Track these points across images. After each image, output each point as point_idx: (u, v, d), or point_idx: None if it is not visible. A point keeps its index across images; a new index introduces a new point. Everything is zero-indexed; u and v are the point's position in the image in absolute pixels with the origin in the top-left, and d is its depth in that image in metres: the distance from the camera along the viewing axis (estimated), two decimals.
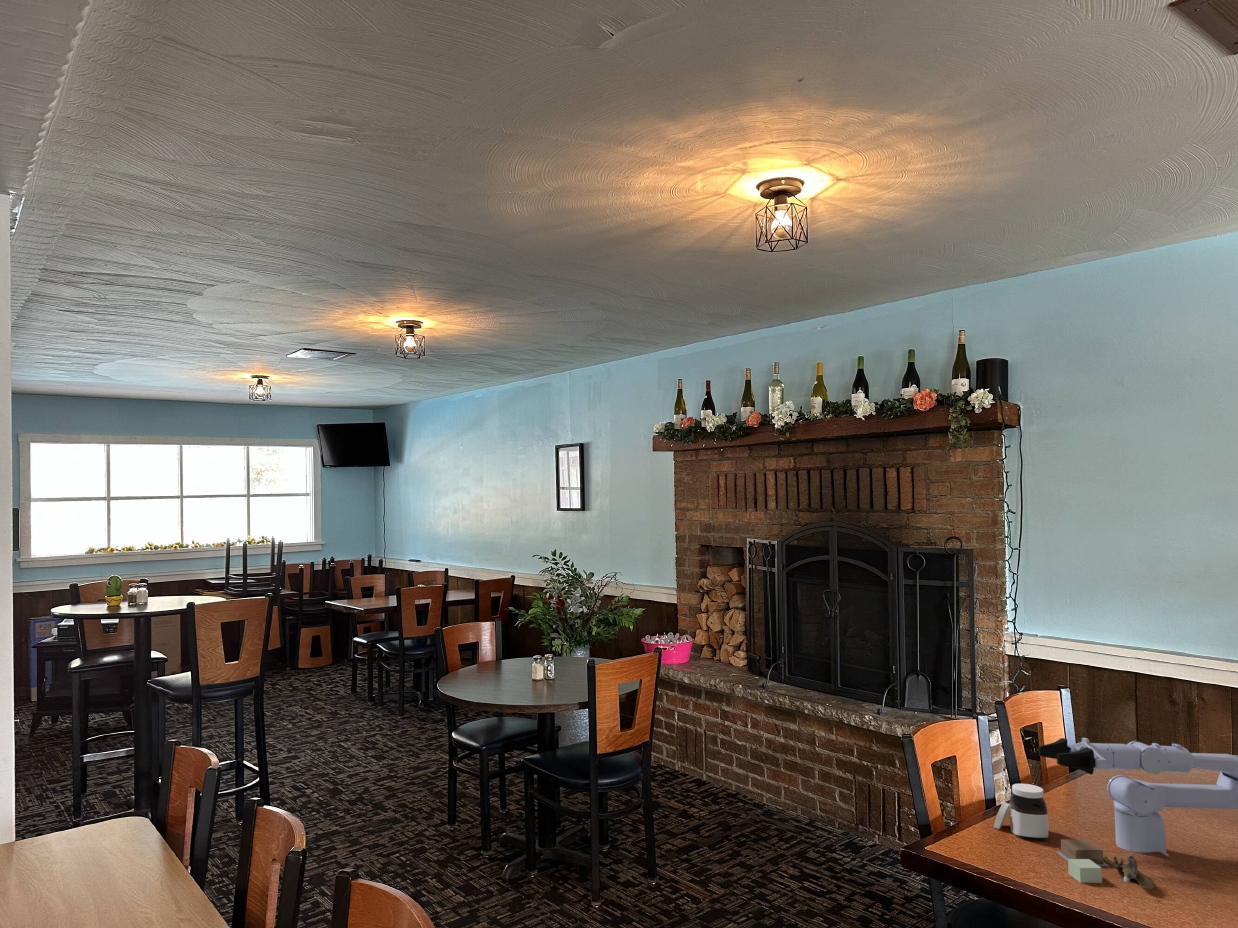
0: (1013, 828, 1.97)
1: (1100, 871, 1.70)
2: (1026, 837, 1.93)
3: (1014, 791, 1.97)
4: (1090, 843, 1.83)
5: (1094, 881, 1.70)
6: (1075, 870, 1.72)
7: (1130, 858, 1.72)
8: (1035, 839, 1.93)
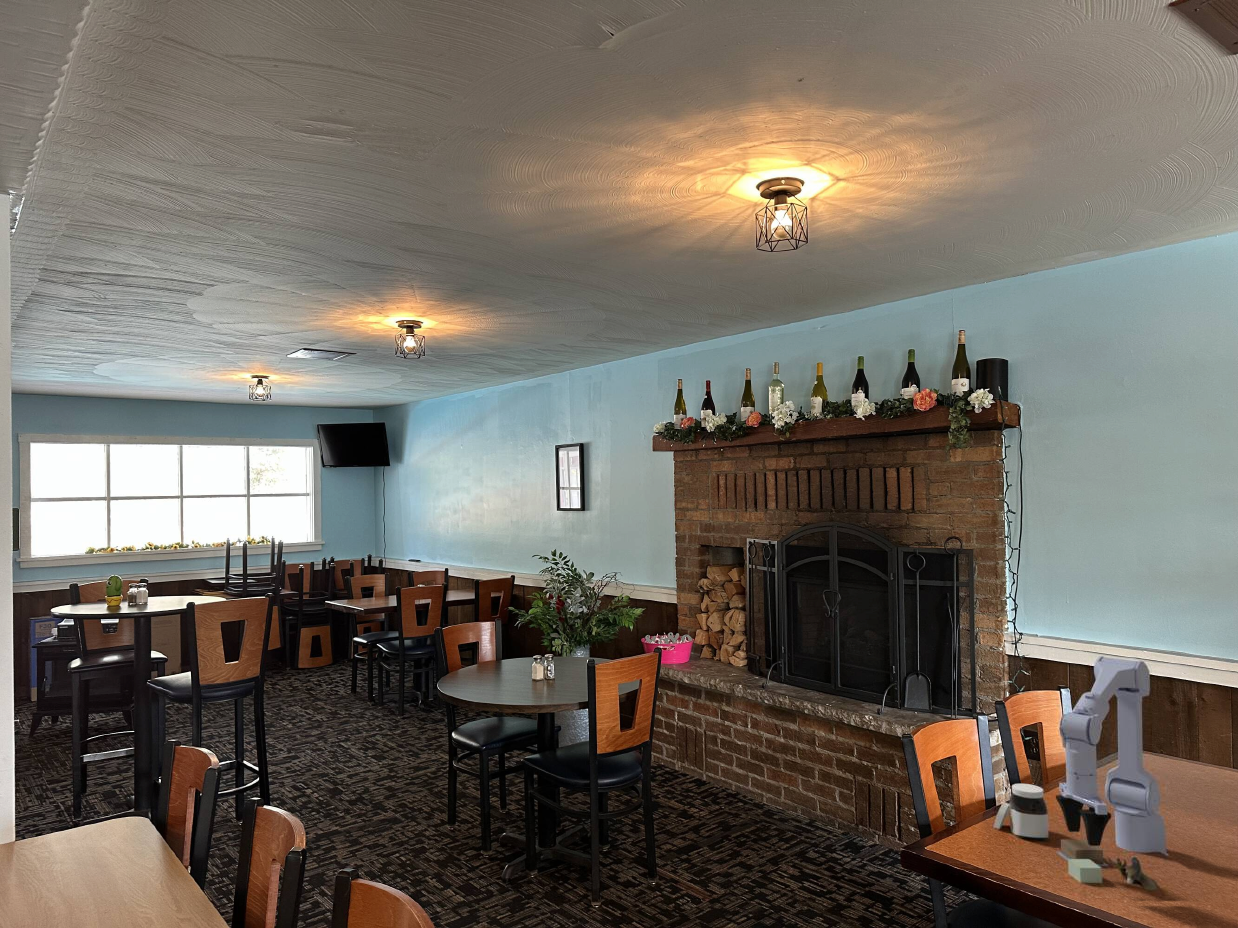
0: (1013, 828, 1.97)
1: (1100, 871, 1.70)
2: (1026, 837, 1.93)
3: (1014, 791, 1.97)
4: None
5: (1094, 881, 1.70)
6: (1075, 870, 1.72)
7: (1134, 860, 1.72)
8: (1035, 839, 1.93)
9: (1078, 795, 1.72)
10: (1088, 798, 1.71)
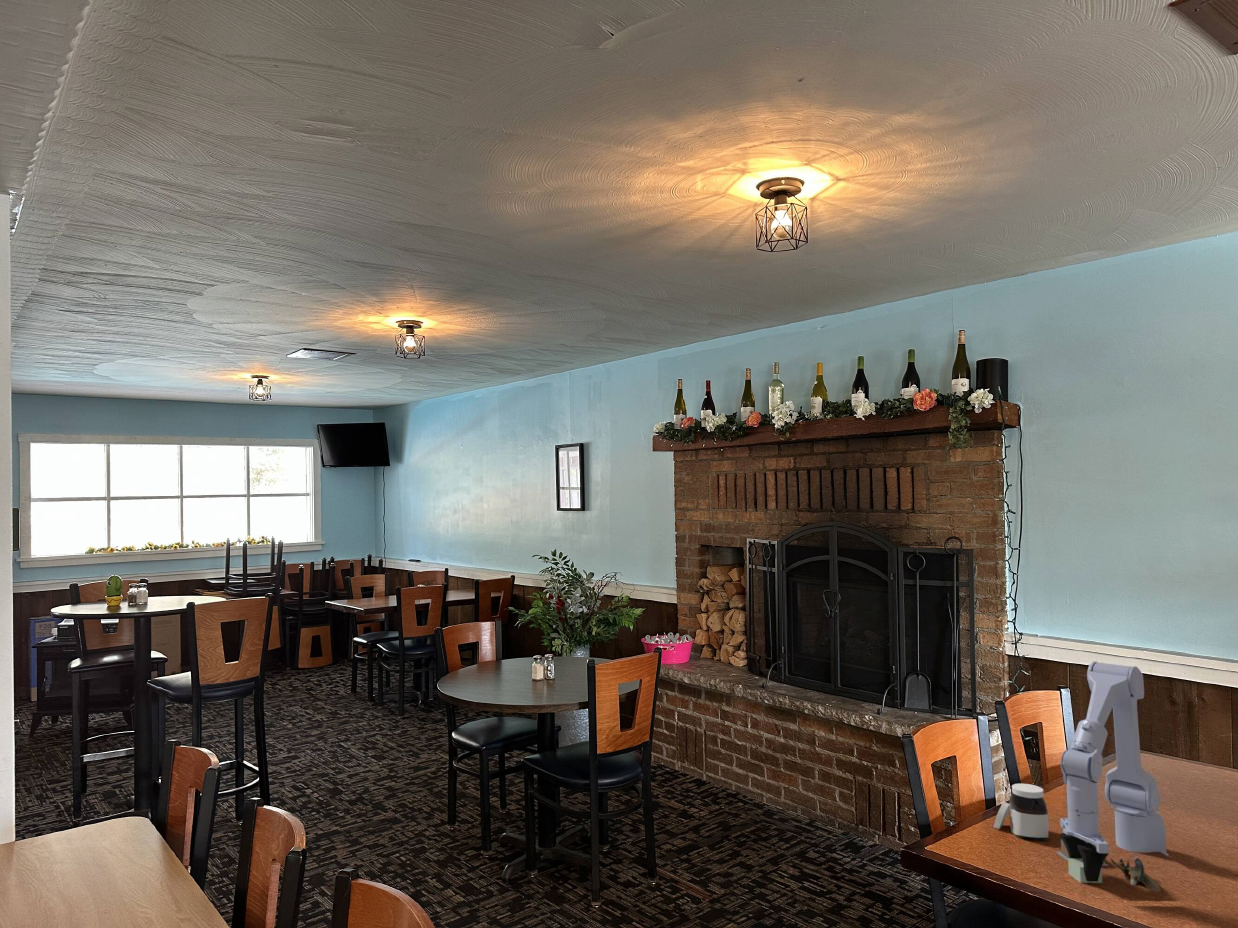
0: (1013, 828, 1.97)
1: (1100, 870, 1.70)
2: (1026, 837, 1.93)
3: (1014, 791, 1.97)
4: None
5: None
6: (1075, 869, 1.72)
7: (1137, 861, 1.71)
8: (1035, 839, 1.93)
9: (1079, 832, 1.71)
10: (1089, 836, 1.70)
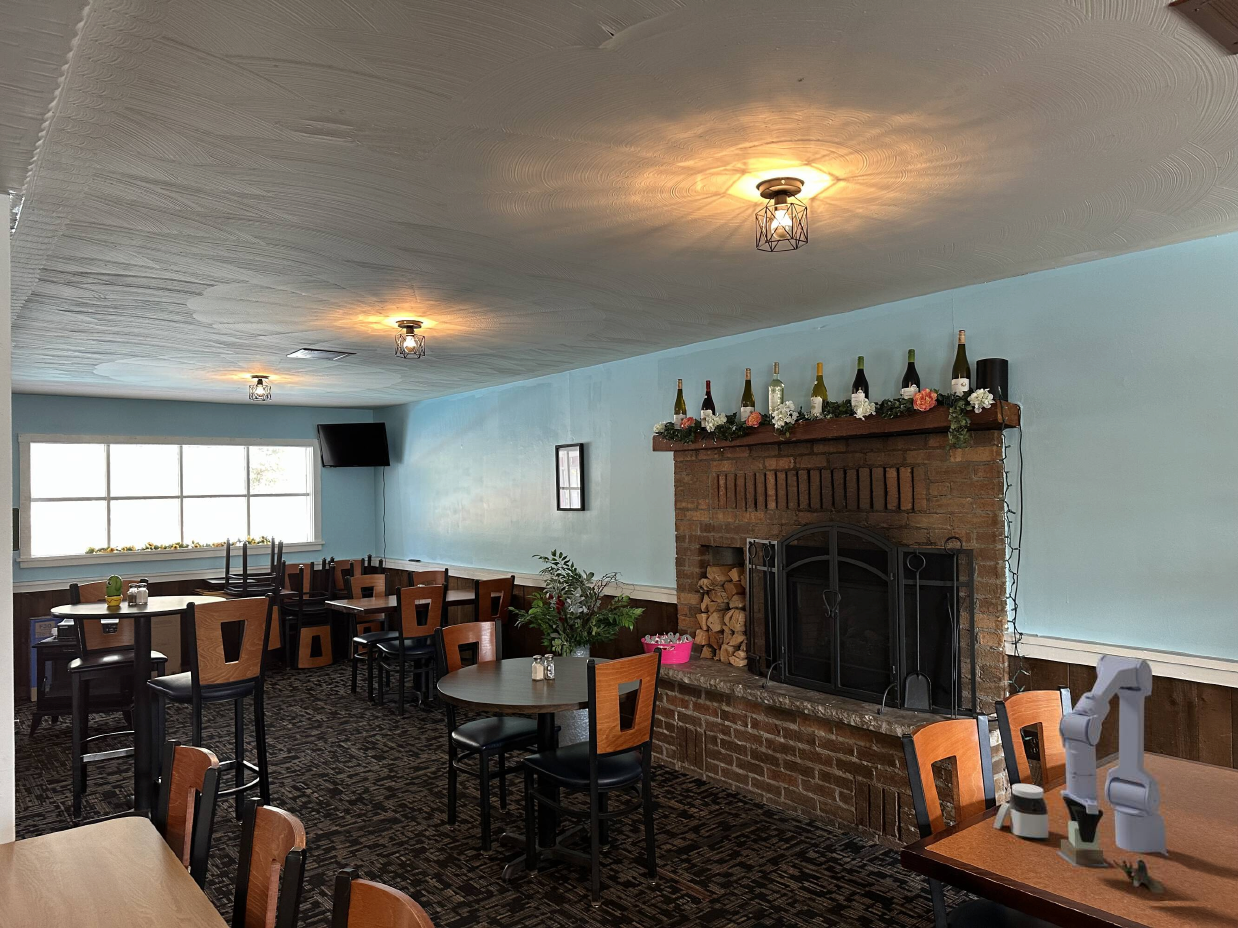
0: (1013, 828, 1.97)
1: (1096, 833, 1.72)
2: (1026, 837, 1.93)
3: (1014, 791, 1.97)
4: None
5: None
6: (1072, 830, 1.75)
7: (1140, 862, 1.70)
8: (1035, 839, 1.93)
9: (1074, 794, 1.74)
10: (1084, 798, 1.73)
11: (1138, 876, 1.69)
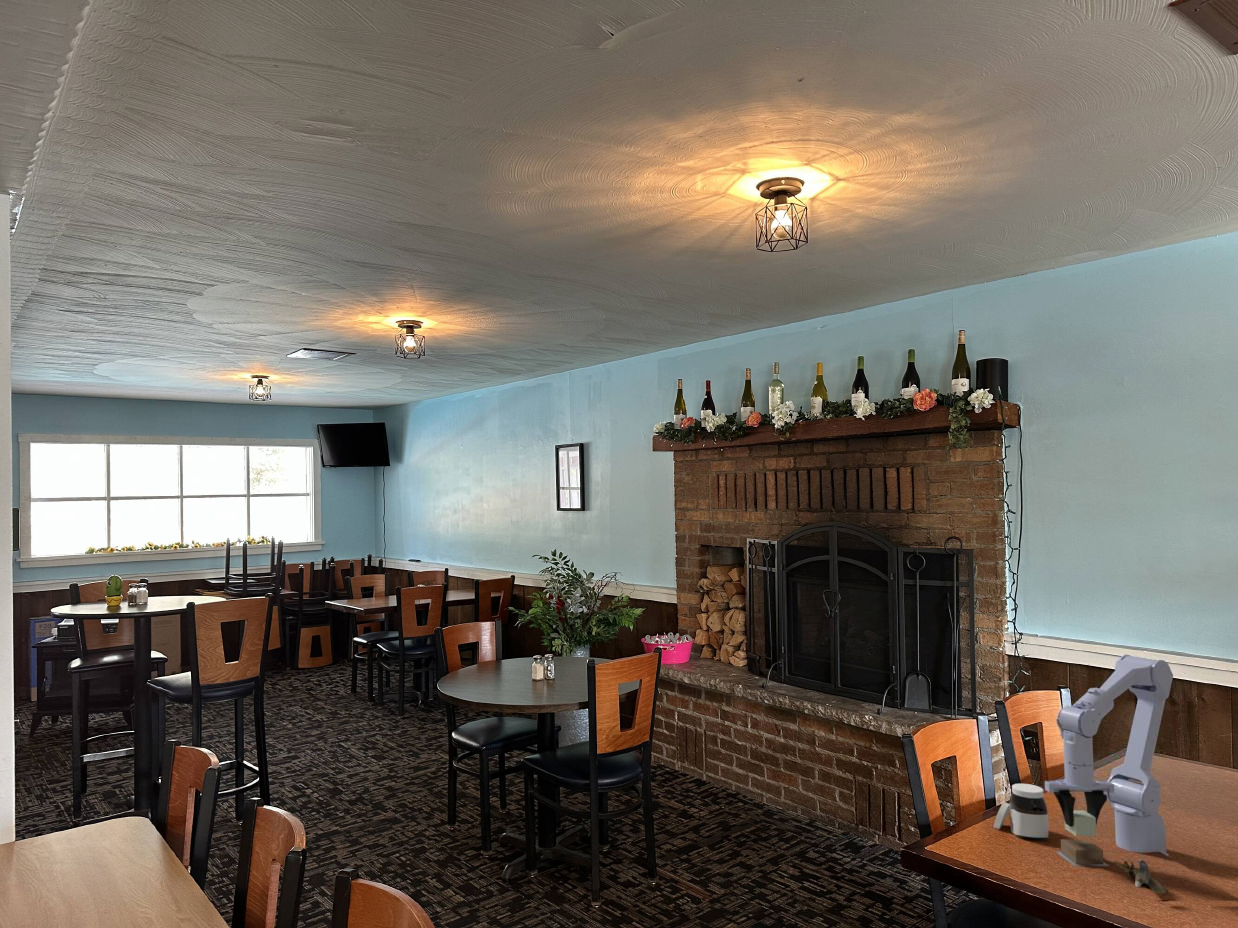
0: (1013, 828, 1.97)
1: (1074, 820, 1.81)
2: (1026, 837, 1.93)
3: (1014, 791, 1.97)
4: (1090, 843, 1.83)
5: (1071, 827, 1.82)
6: None
7: (1142, 863, 1.70)
8: (1035, 839, 1.93)
9: None
10: (1065, 782, 1.84)
11: (1140, 877, 1.69)
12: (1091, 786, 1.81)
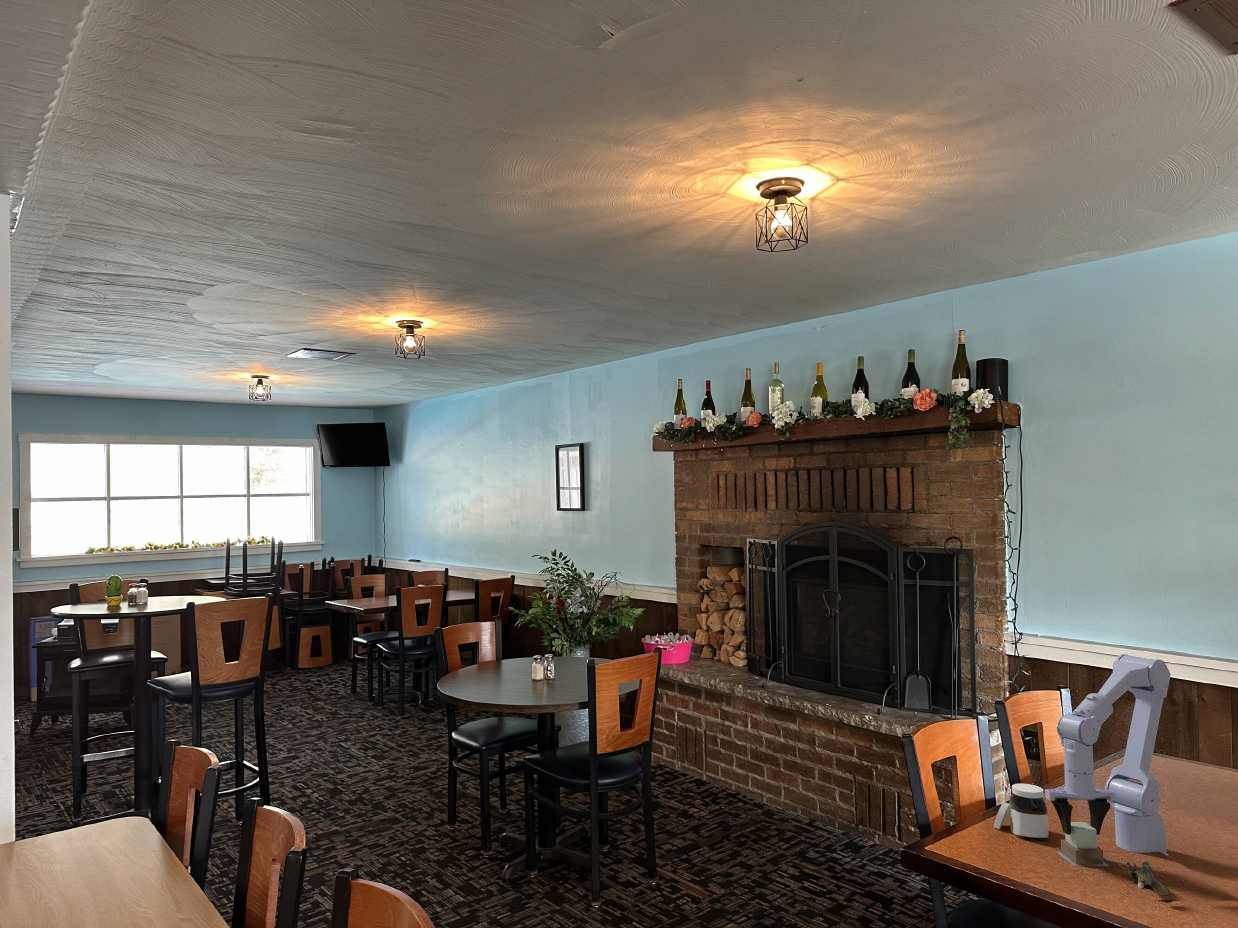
0: (1013, 828, 1.97)
1: (1075, 832, 1.81)
2: (1026, 837, 1.93)
3: (1014, 791, 1.97)
4: None
5: (1072, 839, 1.82)
6: None
7: (1144, 864, 1.69)
8: (1035, 839, 1.93)
9: None
10: (1065, 790, 1.84)
11: (1143, 878, 1.68)
12: (1091, 794, 1.81)
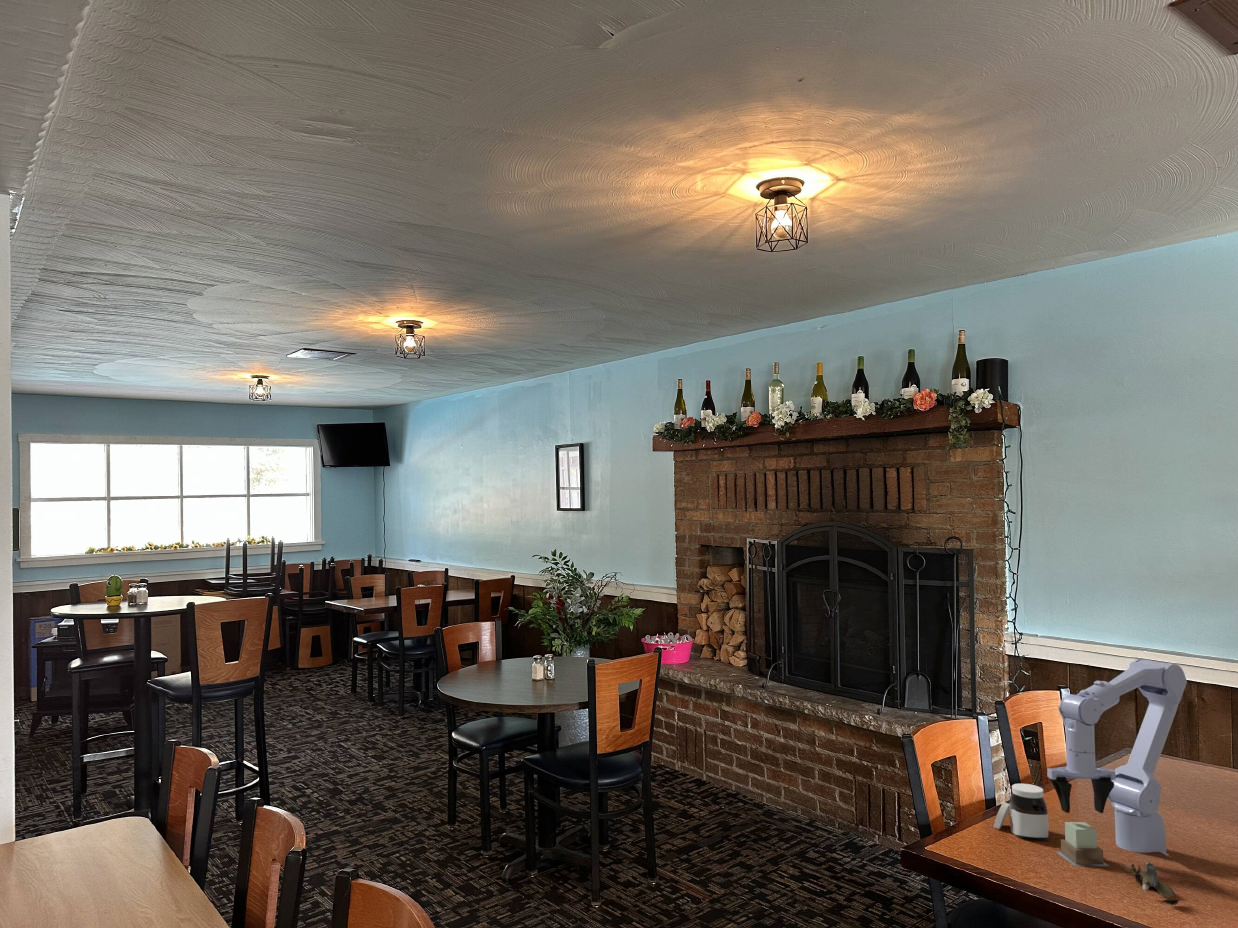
0: (1013, 828, 1.97)
1: (1075, 832, 1.81)
2: (1026, 837, 1.93)
3: (1014, 791, 1.97)
4: None
5: (1072, 839, 1.82)
6: None
7: (1149, 866, 1.69)
8: (1035, 839, 1.93)
9: None
10: (1067, 769, 1.86)
11: (1147, 880, 1.67)
12: (1093, 773, 1.83)
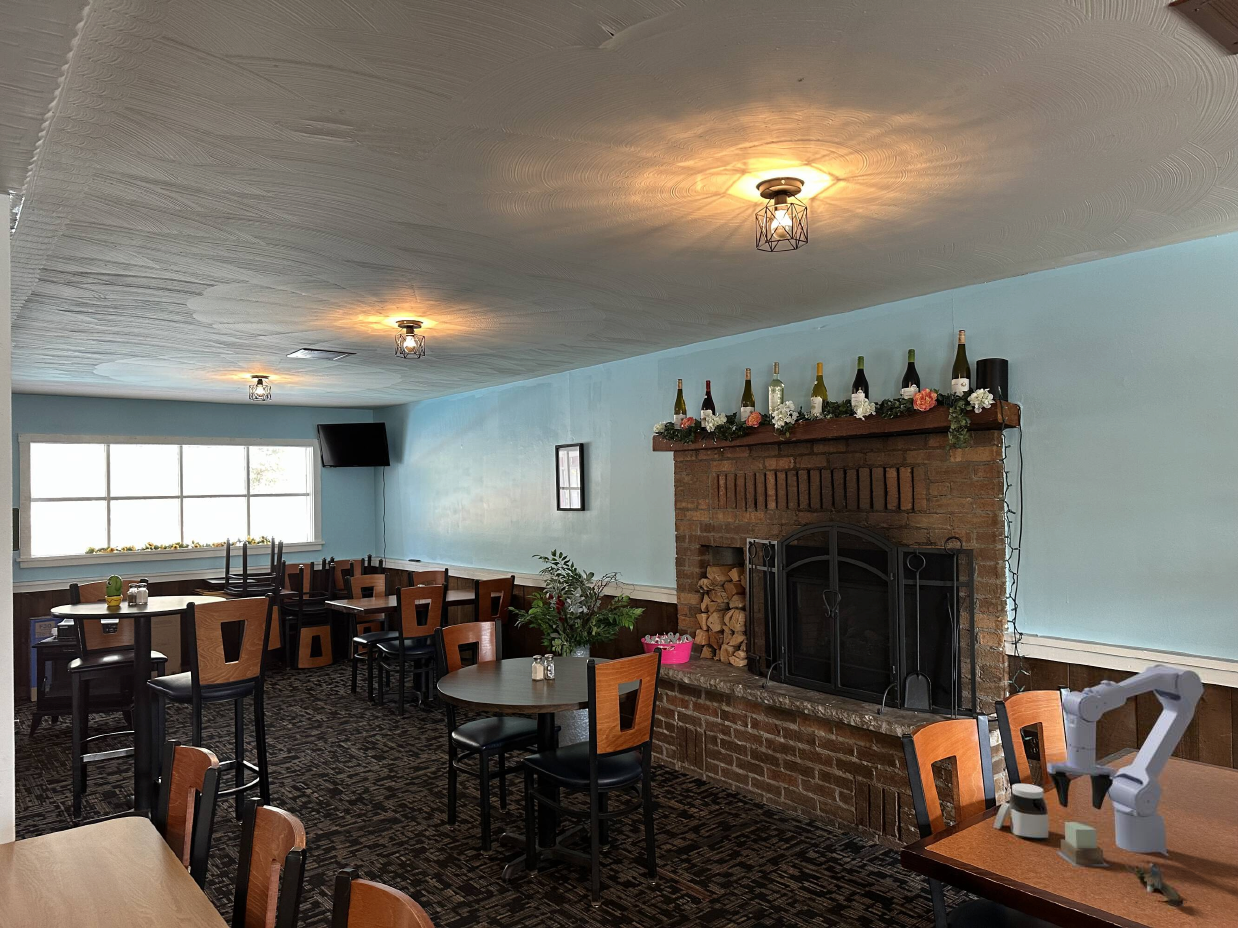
0: (1013, 828, 1.97)
1: (1075, 832, 1.81)
2: (1026, 837, 1.93)
3: (1014, 791, 1.97)
4: None
5: (1072, 839, 1.82)
6: None
7: (1153, 867, 1.68)
8: (1035, 839, 1.93)
9: None
10: (1067, 765, 1.89)
11: (1152, 882, 1.66)
12: (1092, 769, 1.86)
